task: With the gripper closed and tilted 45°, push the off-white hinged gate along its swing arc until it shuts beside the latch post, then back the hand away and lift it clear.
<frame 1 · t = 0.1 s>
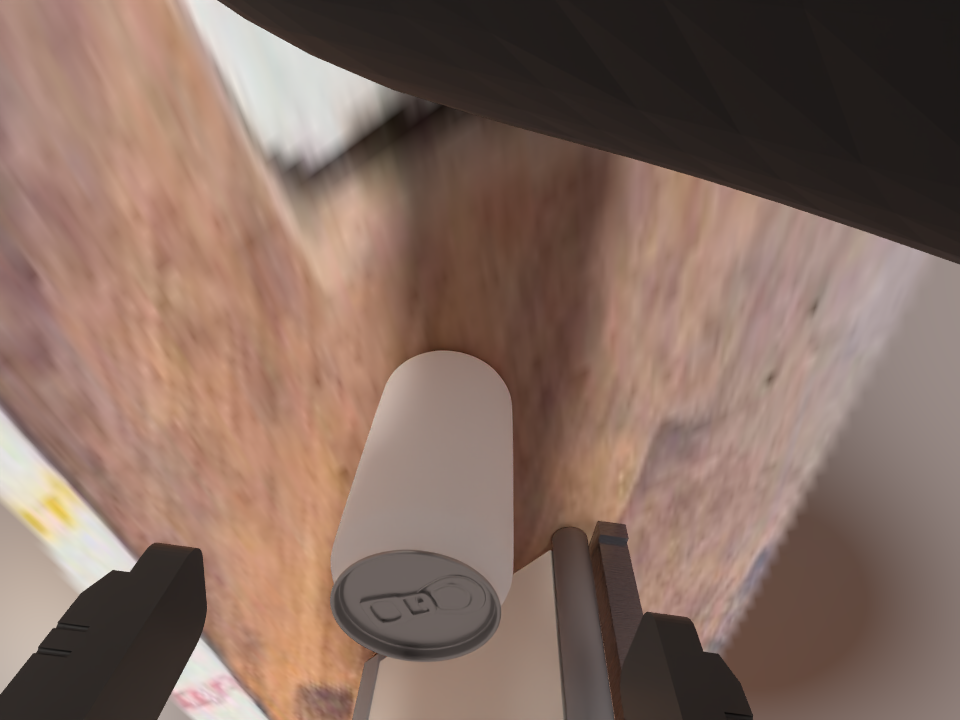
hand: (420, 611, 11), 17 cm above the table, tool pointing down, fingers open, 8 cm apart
can: (448, 399, 29), on the table
gate frame: (571, 632, 38), on the table
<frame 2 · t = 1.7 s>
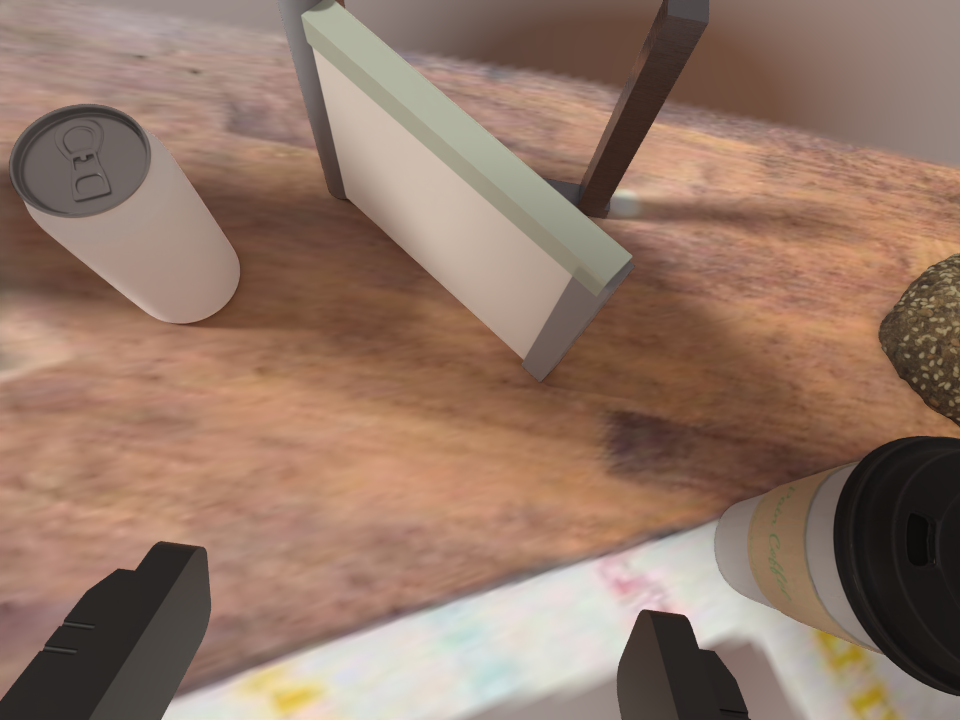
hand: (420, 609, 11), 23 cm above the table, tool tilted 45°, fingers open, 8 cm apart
coffee cup: (760, 550, 35), on the table
can: (189, 278, 36), on the table
gate: (440, 209, 30), point 8 cm above the table, hinge at -35.0°
gate frame: (481, 185, 40), on the table
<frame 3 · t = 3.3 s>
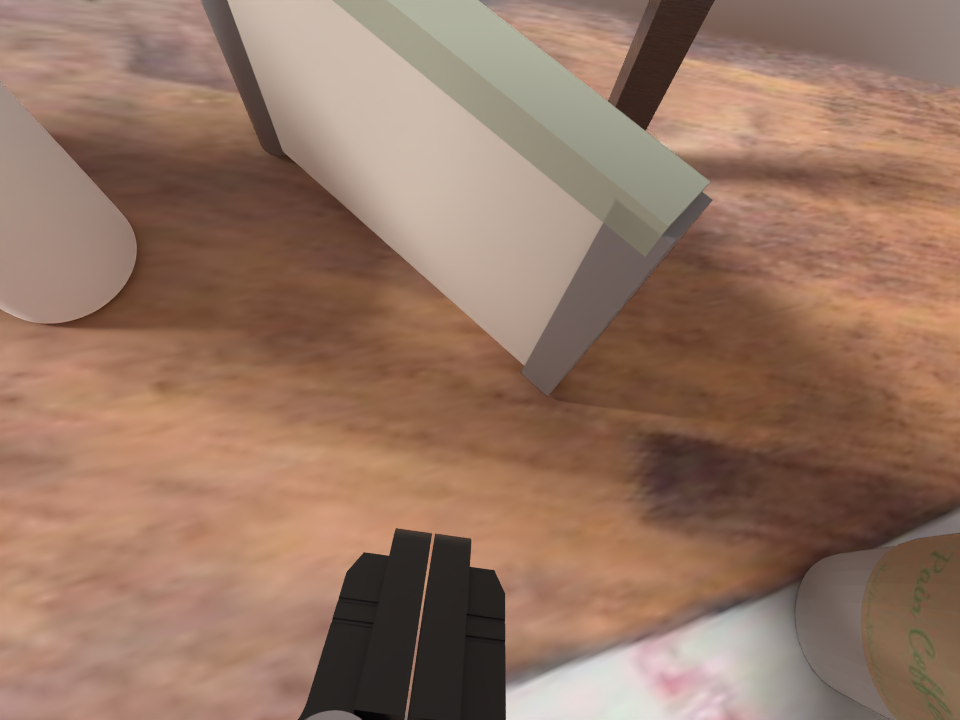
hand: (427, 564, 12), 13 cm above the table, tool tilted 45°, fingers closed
coffee cup: (857, 625, 25), on the table
can: (69, 263, 27), on the table
gate: (398, 146, 21), point 8 cm above the table, hinge at -35.0°
gate frame: (465, 138, 30), on the table
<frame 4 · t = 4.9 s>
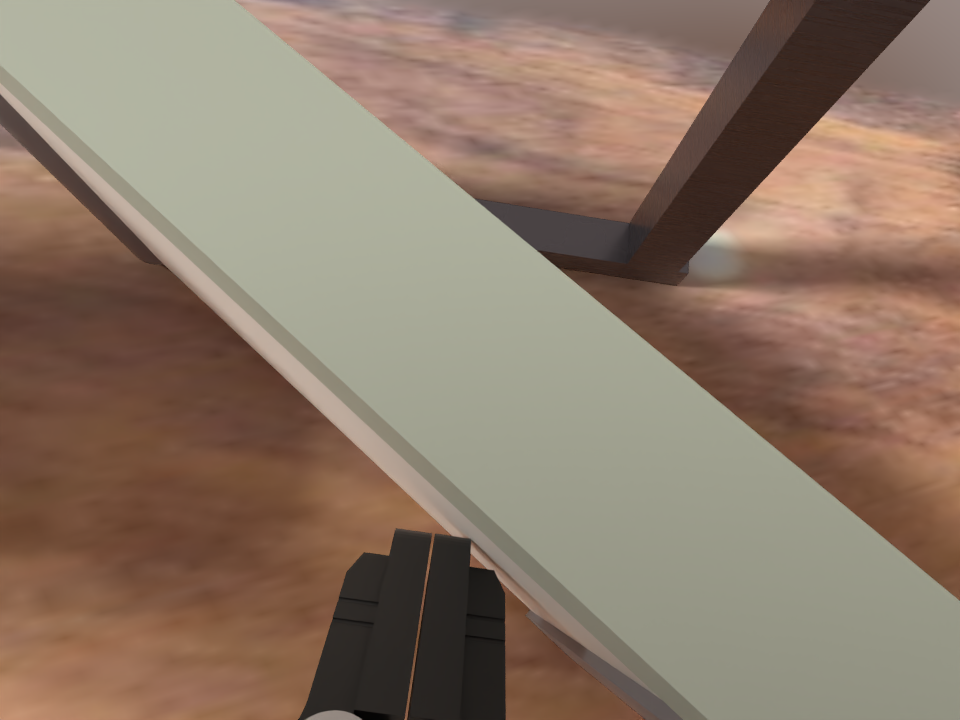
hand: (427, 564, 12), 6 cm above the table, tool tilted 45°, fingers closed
gate: (293, 325, 11), point 8 cm above the table, hinge at -34.4°, touching gripper
gate frame: (439, 228, 21), on the table
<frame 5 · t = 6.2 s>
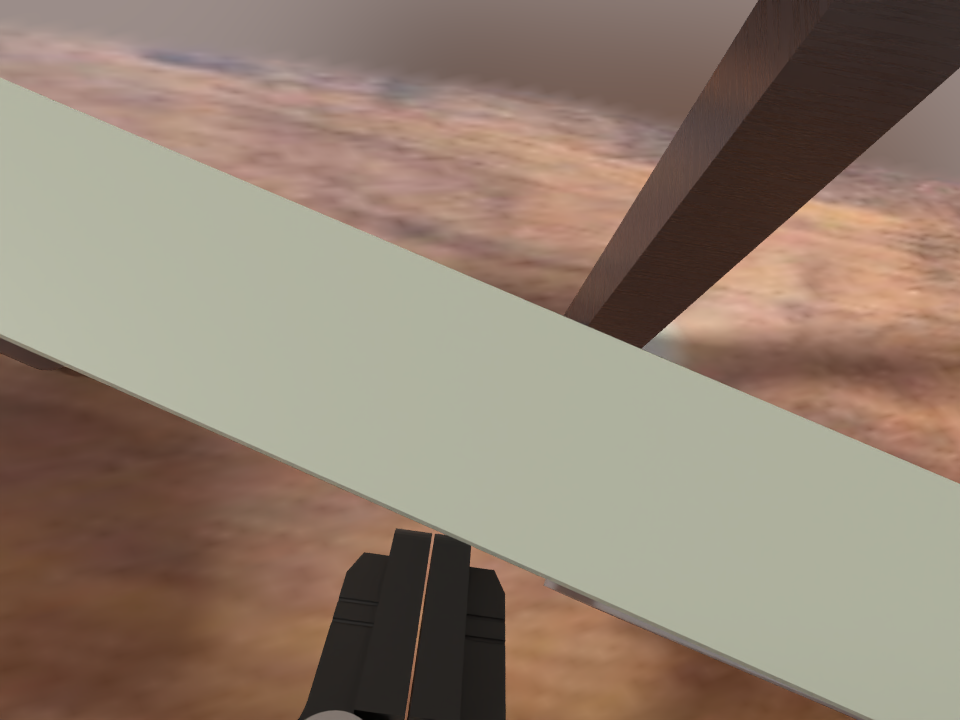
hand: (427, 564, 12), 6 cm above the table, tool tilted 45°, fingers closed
gate: (226, 392, 10), point 8 cm above the table, hinge at -15.4°, touching gripper
gate frame: (359, 322, 19), on the table
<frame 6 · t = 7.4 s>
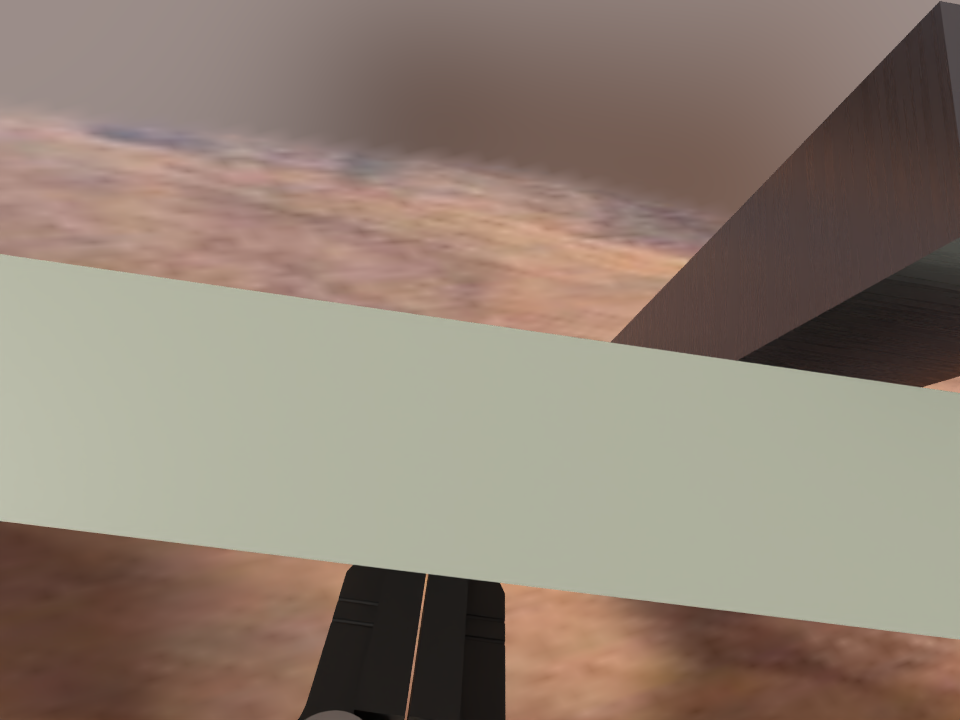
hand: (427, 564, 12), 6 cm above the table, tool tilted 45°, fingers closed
gate: (184, 466, 10), point 8 cm above the table, hinge at 0.3°, touching gripper
gate frame: (316, 426, 18), on the table
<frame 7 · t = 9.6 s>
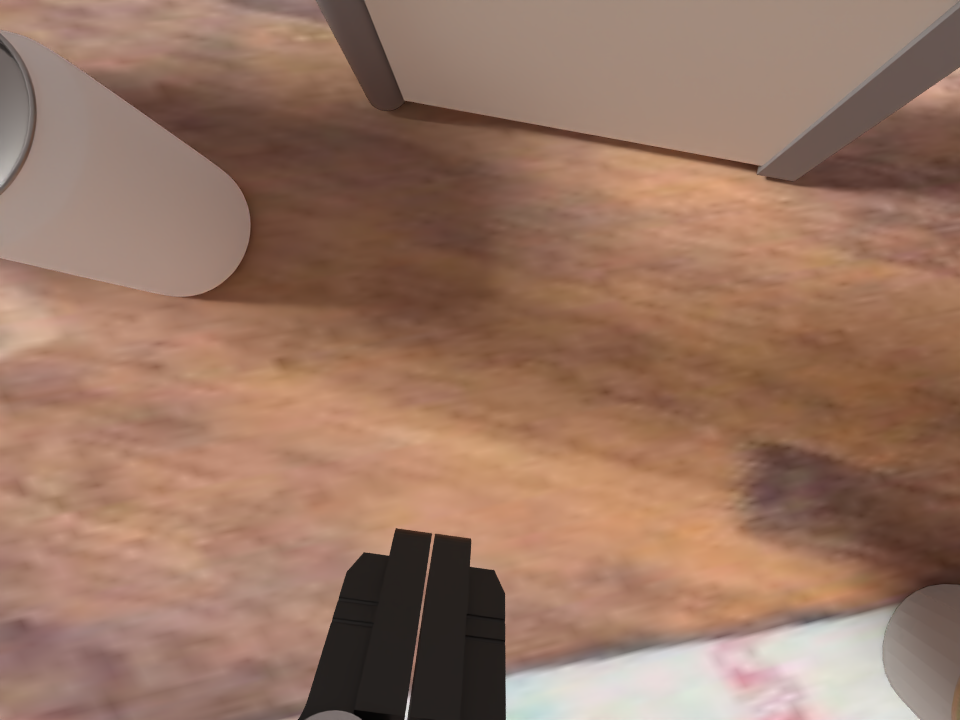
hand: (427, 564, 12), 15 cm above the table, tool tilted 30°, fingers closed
coffee cup: (950, 650, 25), on the table
can: (190, 230, 27), on the table
gate: (602, 19, 18), point 8 cm above the table, hinge at 0.3°
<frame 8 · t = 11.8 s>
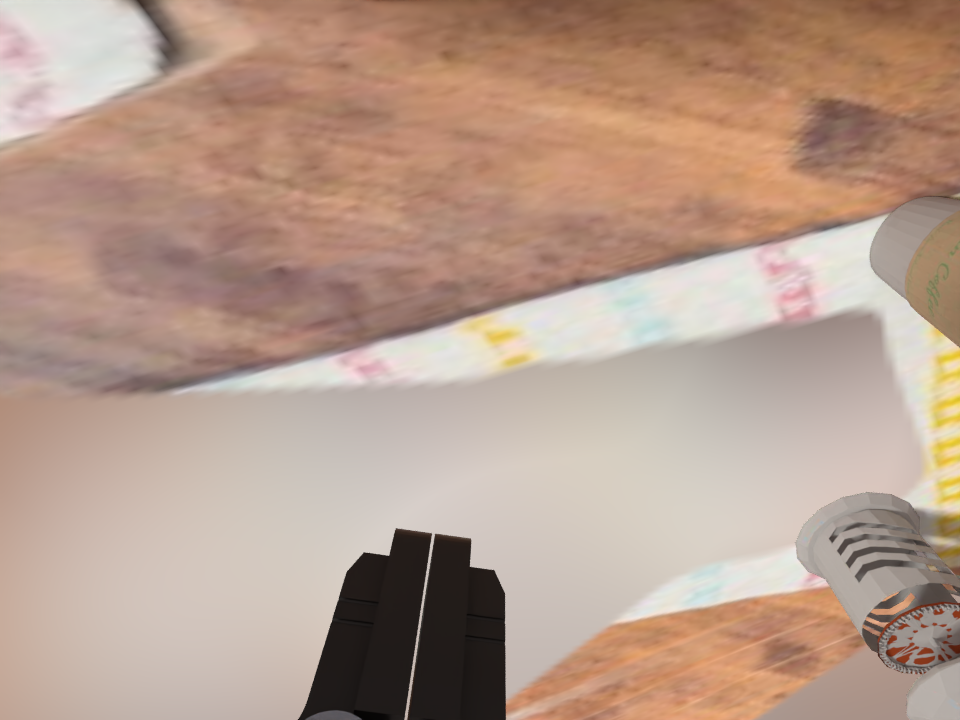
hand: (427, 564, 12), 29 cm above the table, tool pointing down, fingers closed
coffee cup: (916, 241, 37), on the table
french press: (866, 536, 49), on the table
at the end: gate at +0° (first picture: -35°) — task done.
